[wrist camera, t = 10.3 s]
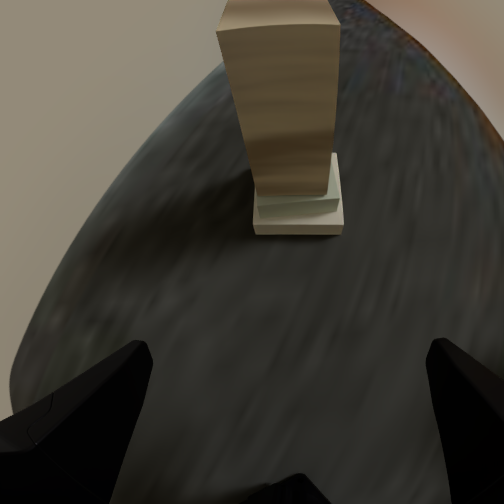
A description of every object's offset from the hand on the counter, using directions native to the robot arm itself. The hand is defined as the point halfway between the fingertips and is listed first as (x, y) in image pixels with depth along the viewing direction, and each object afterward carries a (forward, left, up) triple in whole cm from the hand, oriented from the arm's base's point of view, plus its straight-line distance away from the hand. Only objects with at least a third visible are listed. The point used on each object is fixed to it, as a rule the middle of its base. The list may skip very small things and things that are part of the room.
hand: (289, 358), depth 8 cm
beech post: (+11, -8, -10) cm, 17 cm away
